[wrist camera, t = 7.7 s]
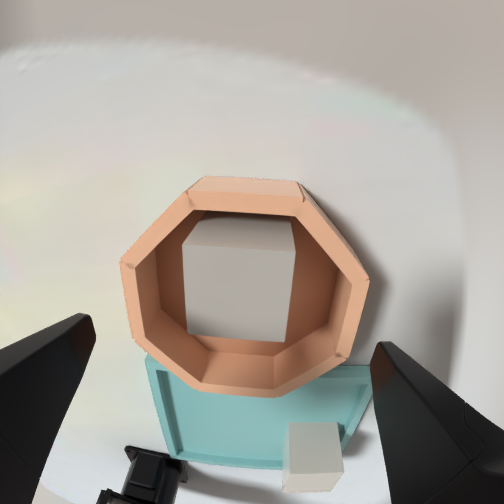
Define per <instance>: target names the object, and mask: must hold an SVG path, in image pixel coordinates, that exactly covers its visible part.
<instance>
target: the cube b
mask: <svg viewBox="0 0 504 504" xmlns="http://www.w3.org/2000/svg"><path fill="white" fill-rule="evenodd" d="M182 252H183V273H184V290H185V305H186V319H187V331H188V334H193V335H202V336H211V337H221V338H232V339H244V340H257V341H272V342H284V341H285V334H286V326H287V319H288V311H289V304H290V296H291V288H292V280H293V271H294V263H295V254H296V251H295V245H294V239H293V233H292V228H291V222H290V216H287V215H274V214H260V213H245V212H229V211H212V210H207V211H206V212H205V214H204V215H203V216H202V218H201V219H200V220H199V222H198V223H197V225H196V226H195V227H194V229H193V230H192V231H191V233H190V234H189V236H188V237H187V238H186V240H185V241H184V243H183V244H182Z"/></svg>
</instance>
